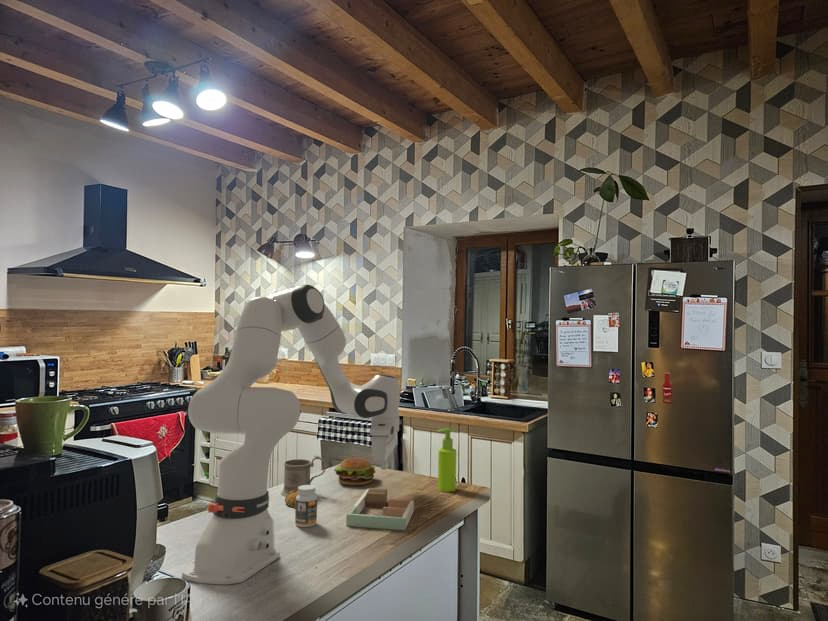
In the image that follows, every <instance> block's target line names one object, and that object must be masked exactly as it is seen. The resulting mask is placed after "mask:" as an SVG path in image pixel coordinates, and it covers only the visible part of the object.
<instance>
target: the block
mask: <svg viewBox="0 0 828 621" xmlns="http://www.w3.org/2000/svg"><path fill="white" fill-rule="evenodd" d="M368 489H369V490H368V492H367V493H366V505H365V507H370V508H371V507H373V508H374V507H375V508H383V507H386V505H387V502H388V488H378V487H376V488H375V487H369V488H368Z"/></svg>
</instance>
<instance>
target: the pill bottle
mask: <svg viewBox="0 0 828 621" xmlns="http://www.w3.org/2000/svg"><path fill="white" fill-rule="evenodd" d="M298 493H299V495H297V497H296V508H295V514H294V516H295V518H294V519H295V520H294V524H295V525H296V526H297V527H300V528H309V527H314V526H315V525H316V524H317V523H318V522H317V519H318V518H317V517H318V516H317V515H318V496H317V494H315V493H316V486H315V485H313V484H312V485H311V484H310V485H302V486H299V487H298Z"/></svg>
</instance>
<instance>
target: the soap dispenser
mask: <svg viewBox="0 0 828 621" xmlns="http://www.w3.org/2000/svg"><path fill="white" fill-rule="evenodd" d="M453 431H454V430H453V429H452V428H439V429H437V430H436V432H437V433H439V434H440V433H443V432H444V434H445V436H444V438H442V445H441V446H442V447H441V448H438V456H437V458H438V462H437V463H438V465H437V490H438V491H439V492H442V491H444V493H452V492H451V491H453V492H455V491H456V490H457V489H456V488H457V485H456V484H457V482H456V481H457V479H456V477H457V476H456V475H457V449H456V448H453V445H454V442H453V441H454V440H453V438H451V433H452V432H453Z"/></svg>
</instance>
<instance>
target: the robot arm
mask: <svg viewBox="0 0 828 621" xmlns="http://www.w3.org/2000/svg"><path fill="white" fill-rule="evenodd" d="M296 329H298V331H299V333H300V334H301V337H302V338H303V340H304V342H305V344H306V345H307V347H308V348H309V350H310V352H311V354H312V355H313V357H314V359H315V362H316V365H317V367H318V369H319V371H320V373H321V374H322V376H323V378H324V381H325V383H326V385H327V386H328V389H329V392H330V399H331V405H332V406H333V408H334V410H335V411H336V412H337V413H339V414H342V415H347V416H349V415H350V416H352V417H356V418H360V419H369V418H371V426H370V430H369V435H370V436H371V455H372V460H373V462H380V469H381V470H383V471H385V470H387V469H388V467H389V460H390V454H392V452H393V450H394V449H395V447H396V444H397V442H396V440H397V438H396V437H397V435H396V434H397V433H398V432H399V431H400V411H399V406H400V402H401V401H400V400H401V399H400V398H401V396H400V383H399V379H398V378H397V377H395V376H393V375H387V374H382V373H378V374H377V373H376V374H374V377H373V378H372V379H370V380H369V381H368V382H366V383H363V384H362V385H358V384H355V383H353V382H351V381H350V380H349V379H348V378H347V377H346V373H345V372H344V370H343V368H342V366H341V364H340V362H339V356H340V355H342V354H343V352H344V350H345V349H346V348H345V347H346V344H347V339H346V336H345V333H344V331H343V329H342V327H341V325H340V323H339V322H338V320H337V319H336V317H335V315H334V314H333V313H332V311H331V310H330V309H329V307H328V305H326V303H325V300H324V296H323V294H322V293H321V292H320V290H319V289H318V288H316V287H315V286H313V285H311V284H301V285H297V286H295V287H291V288H287V289H284V290H279V291H276V292H274V293H272V294H269V295H268V296H255V297H253V298H251V299H249V300H248V301H247V302H246V303H245V305H244V308H243V309H242V311H241V315H240V316H239V320H238V323H237V326H236V330H235V335H234V336H235V337H234V340H233V344H232V349H231V352H230V355H229V358H228V360H227V362H226V365H225V366H224V368H223V369H222V370H221V372H220V373H219V374H218V375H217V376H216V377H215V378H214V379H213V380H212V381H211V382H210V383H208V384H207V385H205V386H204V387H201V388H200V389H198V390H196V392H195V393H194V394H193V395H192V397H191V399H190V400H189V403H188V408H187V413H188V414H187V415H188V419H189V422H190V424H191V425H192V427H194V429H196V430H199V431H202V432H207V433H212V434H224V435H225V434H226V435H227V434H228V435H232V434H233V435H234V434H235V435H244V442H243V444H242V445H241V446H238V447H236V448H234V449H232V450H230V451H229V452H227V453H226V454H224V455H223V456H222V457H221V459H220V461H219V463H218V471H217V472H218V475H217V477H218V478H217V493H216V495H215V497H214V498H215V499H214V501H213V502H210V503H209V504H208V507H207V511H208V513H211V514H212V516H211V518H210V520H209V521H208V523H207V525H206V527H205V528H204V530H203V532H202V534H201V536H200V538H199V540H198V542H197V543H196V546H195V553H194V557H193V559H192V560H191V561H190V563H188V564H187V565H186V567H185V568H184V569H183V571H182V572H181V573H182V574H181V577H182V578H183V579H185V580H187V581H189V582H190V581H191V582H195V583H199V584H209V585H211V584H212V585H232V584H238V583H239V584H240V583H243V582H245V581H246V580H248V579H250V577H252V576H254V575H255V574H256V573H258V572H259V571H261V570H262V569H264V568H265V567H267V566H268V565H270V564H272V563H273V562H274V561H275V560H277V559H278V558H280V557H281V553H280V551H279V550H278V549H277V548H276V547H275V526H274V518H272V516H271V515H270V513H269V510H268V508H269V506H270V505H269V503H270V502H269V501H270V496H269V494H270V492H269V491H268V474H269V466H270V460H271V456H272V453H273V451H274V449H275V448H276V446H277V444H278V443H279V442H280V441H281V439H282V438H284V437H285V436H286V435H287V434H288V433H289V432H291V431H292V430H293V429H294V428H295V427H296V425H297V424H298V422H299V420H300V416H301V403H300V400H299V398H298V397H297V395H296V394H295V393H294V392H293V391H291V390H287V389H283V388H278V387H269V386H268V387H267V386H265V387H264V386H263V387H262V386H253V385H254V384H255V383H256V382H257V381H259V380H261V379H264V378H265V377H268V376H269V375H270V374H271V373H272V372H273V371H274V370H275V368H276V366H277V364H278V363H277V362H278V358H279V357H278V356H279V350H280V344H281V337H282V332H287V331H293V330H296Z"/></svg>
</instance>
